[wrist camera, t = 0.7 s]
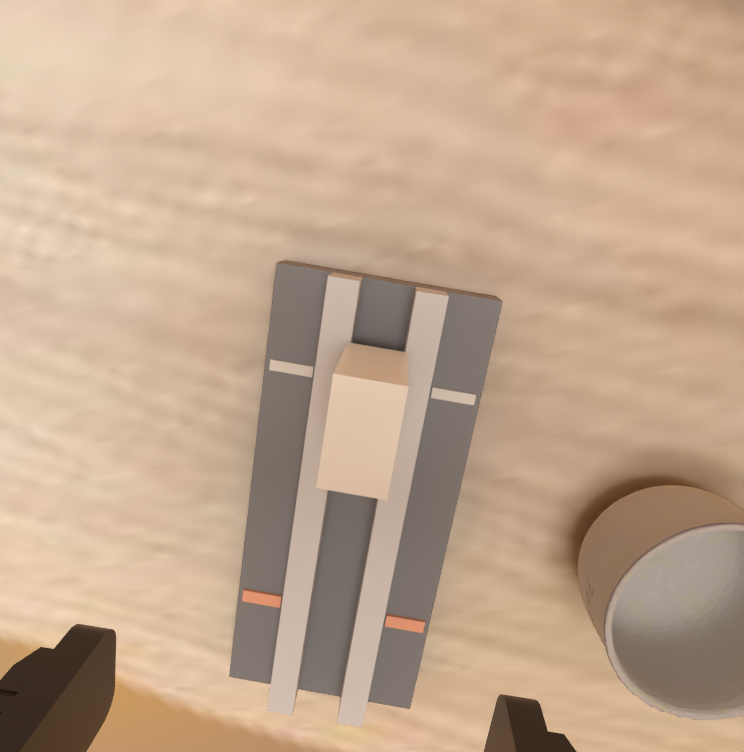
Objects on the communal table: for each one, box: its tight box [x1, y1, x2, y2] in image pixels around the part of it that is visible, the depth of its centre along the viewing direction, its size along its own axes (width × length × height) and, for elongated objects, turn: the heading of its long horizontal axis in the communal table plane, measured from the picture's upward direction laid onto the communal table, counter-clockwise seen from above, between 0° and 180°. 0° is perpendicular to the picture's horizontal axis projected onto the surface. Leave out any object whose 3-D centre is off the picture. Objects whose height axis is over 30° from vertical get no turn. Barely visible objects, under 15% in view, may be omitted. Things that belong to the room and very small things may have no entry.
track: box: [229, 260, 502, 727], centre depth 33 cm, size 12×27×4 cm, turn 171°
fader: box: [316, 342, 409, 500], centre depth 26 cm, size 3×5×8 cm, turn 171°
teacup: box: [578, 485, 744, 720], centre depth 31 cm, size 14×11×8 cm
